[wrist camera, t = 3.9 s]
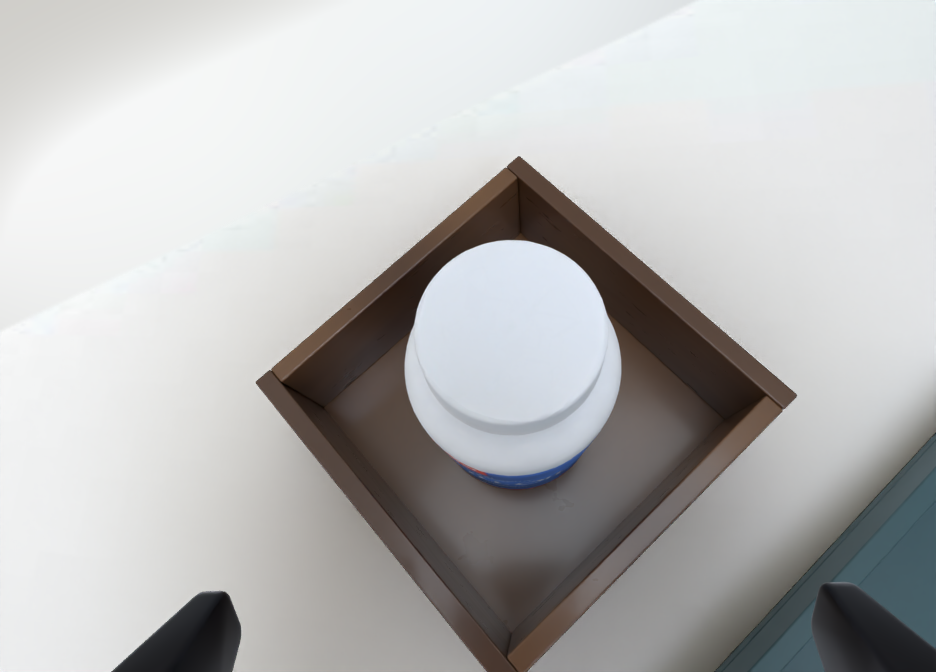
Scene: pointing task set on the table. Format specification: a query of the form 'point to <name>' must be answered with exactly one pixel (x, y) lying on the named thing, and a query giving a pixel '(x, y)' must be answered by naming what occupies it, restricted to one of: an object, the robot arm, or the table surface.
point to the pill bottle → (512, 363)
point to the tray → (860, 574)
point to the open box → (555, 503)
